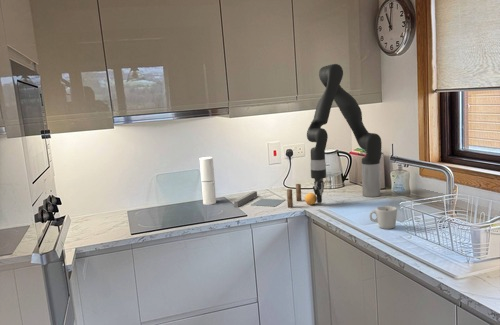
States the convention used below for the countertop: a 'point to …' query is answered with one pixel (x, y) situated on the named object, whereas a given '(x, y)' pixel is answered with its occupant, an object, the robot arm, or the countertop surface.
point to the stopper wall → (245, 199)
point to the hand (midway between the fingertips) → (319, 202)
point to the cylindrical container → (207, 180)
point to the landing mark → (268, 202)
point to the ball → (310, 198)
